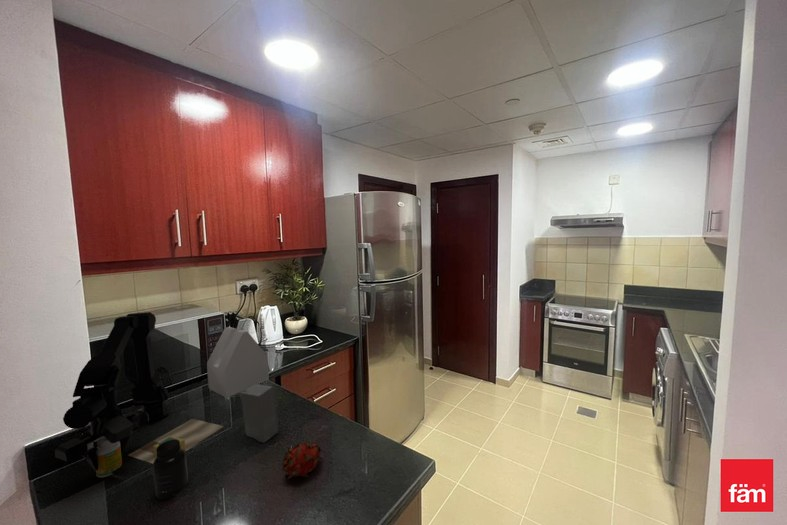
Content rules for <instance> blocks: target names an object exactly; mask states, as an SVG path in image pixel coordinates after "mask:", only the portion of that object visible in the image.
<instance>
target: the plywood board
mask: <svg viewBox="0 0 787 525" xmlns="http://www.w3.org/2000/svg"><path fill="white" fill-rule="evenodd" d="M222 428H224V425H220V424H217V423H216V424H215V423H212V422H207V421H204V420H198V419H195V418H191V419H189V420H187V421H186V422H184V423H182V424H181V425H179V426H177V427H175V428H174V429H172V430H170V431H168V432H167V433H164V434H162V435H161V436H159V437H157V438H156V439H154V440H152V441H150V442H149V443H147V444H145V445H143V446H141V447H140V448H138V449H137V450H134V451H132V452H131V453H129V454H127V456H128V457H131V458H134V459H137V460H141V461H143V462H147V463H149V464H152V465H153V463H154V461H155V459H156V458H157V457H156V456H154V448H153V446H154V445H156V444H158V443H159V442H161V441H163V440H165V439H166V438H168V437H170V436H173V437H177V438H180V439H184V440H185V450H184V451H185V452H188V451H189V450H190V449H192V448H193V447H195V446H196V445H197V444H199V443H201V442H202V441H204V440H205V439H207V438H209V437H210V436H211V435H213V434H214V433H216V432H218V431H219V430H221V429H222Z"/></svg>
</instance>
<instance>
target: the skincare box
mask: <svg viewBox="0 0 787 525" xmlns="http://www.w3.org/2000/svg"><path fill="white" fill-rule="evenodd" d="M239 394H240V400H241V408H242V414H243V415H242V416H243V423H244V432H245V436H247V437H249V438H252V439H255V441H257V442H259V443H264V444H265V443H266V442H267V441H269V440H270V439H271V438H272V437H274V436H275V435H276V434H278V433H279V431H280V430H279V424H278V415H277V409H276V408H277V407H276V400H275V392H274V386H270V385H266V384H265V385H264V384H255V385H253V386H251V387H249V388H248V389H246V390H244V391H242V392H239Z"/></svg>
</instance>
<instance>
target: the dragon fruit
mask: <svg viewBox="0 0 787 525" xmlns="http://www.w3.org/2000/svg"><path fill="white" fill-rule="evenodd" d="M321 450H322V449H321V447H320V446H319V444H318V443H312V444H310V443H309V442H307V441H305V442H304V443H302V444H300V443H298V444H297V443H296V444H295V446H294V447H288V448H287V451H286V452H285V453H284V456H283V458H282V463H281V464H282V467H283V468H282V469H281V470H282V472H284V473H285V479H290V478H295V479H297V478H298V477H302V478H305V479H307V478H308V477H309V476H308V475H309V473H310V472H312V471H314V470H315V467H317V464H318V462H319V460H320V459H321V457H320V455H321ZM287 473H288V474H287Z"/></svg>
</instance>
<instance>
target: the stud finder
mask: <svg viewBox="0 0 787 525" xmlns="http://www.w3.org/2000/svg"><path fill="white" fill-rule="evenodd" d="M173 439H177V440H179V441H180V446H181V449H183V450H185V440H184V439H180V438H177V437H173V436H170V437H168V438H166V439H165V440H163V441H161V442H159V443H158V444H156V445H154V446H153V448H154V456H156V457H157V451H156V450H157V447H158V446H159V445H161V444H162V443H164V442H166V441H169V440H173Z"/></svg>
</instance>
